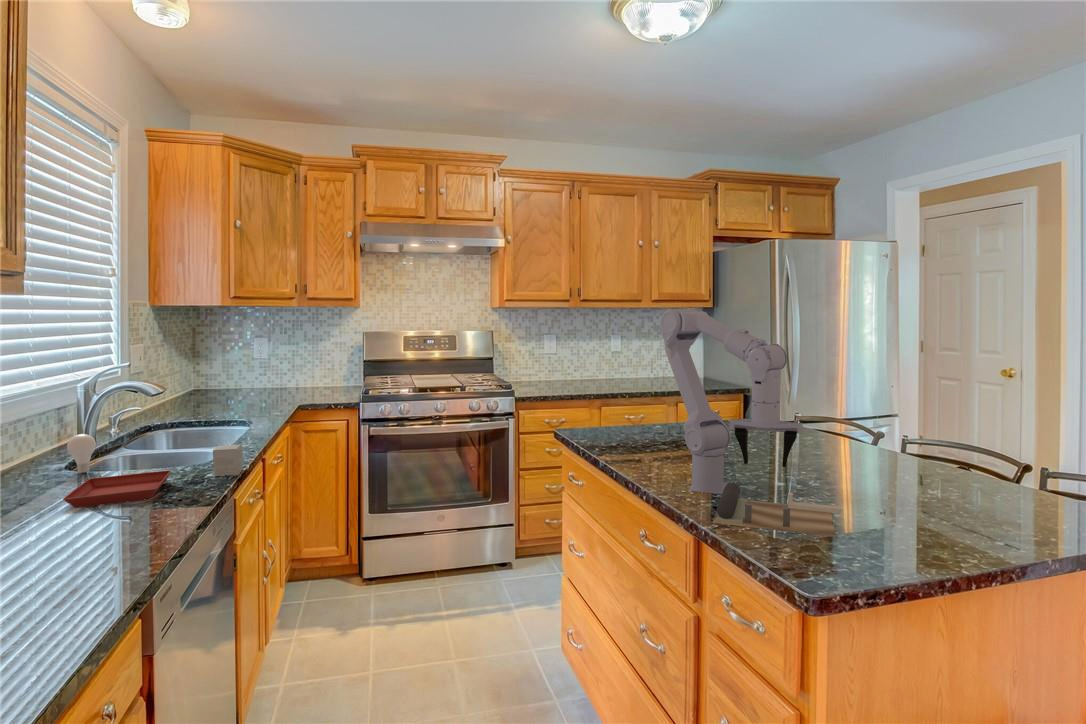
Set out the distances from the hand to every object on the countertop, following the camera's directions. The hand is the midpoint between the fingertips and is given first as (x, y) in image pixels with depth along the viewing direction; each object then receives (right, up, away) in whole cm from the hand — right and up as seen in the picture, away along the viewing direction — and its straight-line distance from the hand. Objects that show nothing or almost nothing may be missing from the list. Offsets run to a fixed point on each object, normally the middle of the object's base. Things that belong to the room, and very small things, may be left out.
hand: (764, 464), depth 128 cm
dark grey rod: (-8, -9, -3) cm, 12 cm away
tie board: (-1, -10, -6) cm, 12 cm away
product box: (-133, -9, +35) cm, 138 cm away
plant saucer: (-149, -11, +16) cm, 151 cm away
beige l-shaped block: (+4, -6, -14) cm, 16 cm away
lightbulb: (-174, -9, +37) cm, 178 cm away
